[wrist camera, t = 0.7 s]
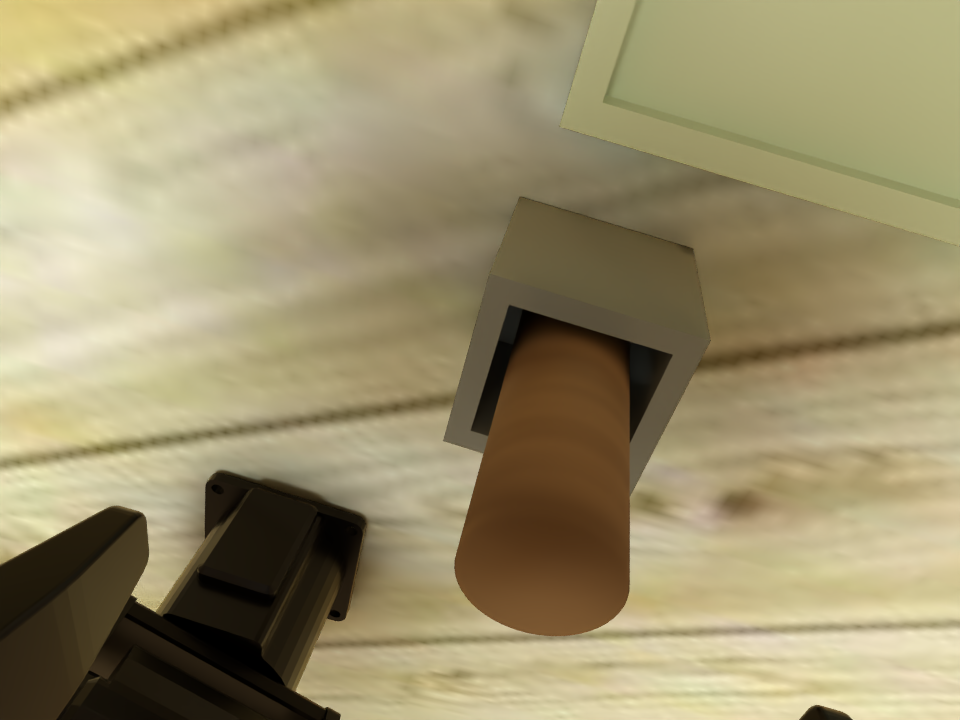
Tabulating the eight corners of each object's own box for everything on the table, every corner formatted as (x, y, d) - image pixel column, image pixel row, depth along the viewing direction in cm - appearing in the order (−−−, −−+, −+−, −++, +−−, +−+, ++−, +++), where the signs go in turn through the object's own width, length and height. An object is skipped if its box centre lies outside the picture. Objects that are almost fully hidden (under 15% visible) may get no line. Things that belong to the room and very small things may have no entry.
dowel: (608, 362, 21) (595, 654, 13) (514, 333, 21) (438, 605, 13) (645, 277, 19) (657, 549, 11) (542, 246, 19) (476, 493, 11)
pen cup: (629, 388, 22) (628, 498, 18) (478, 342, 22) (443, 440, 18) (693, 248, 19) (710, 340, 15) (519, 196, 19) (489, 273, 15)
